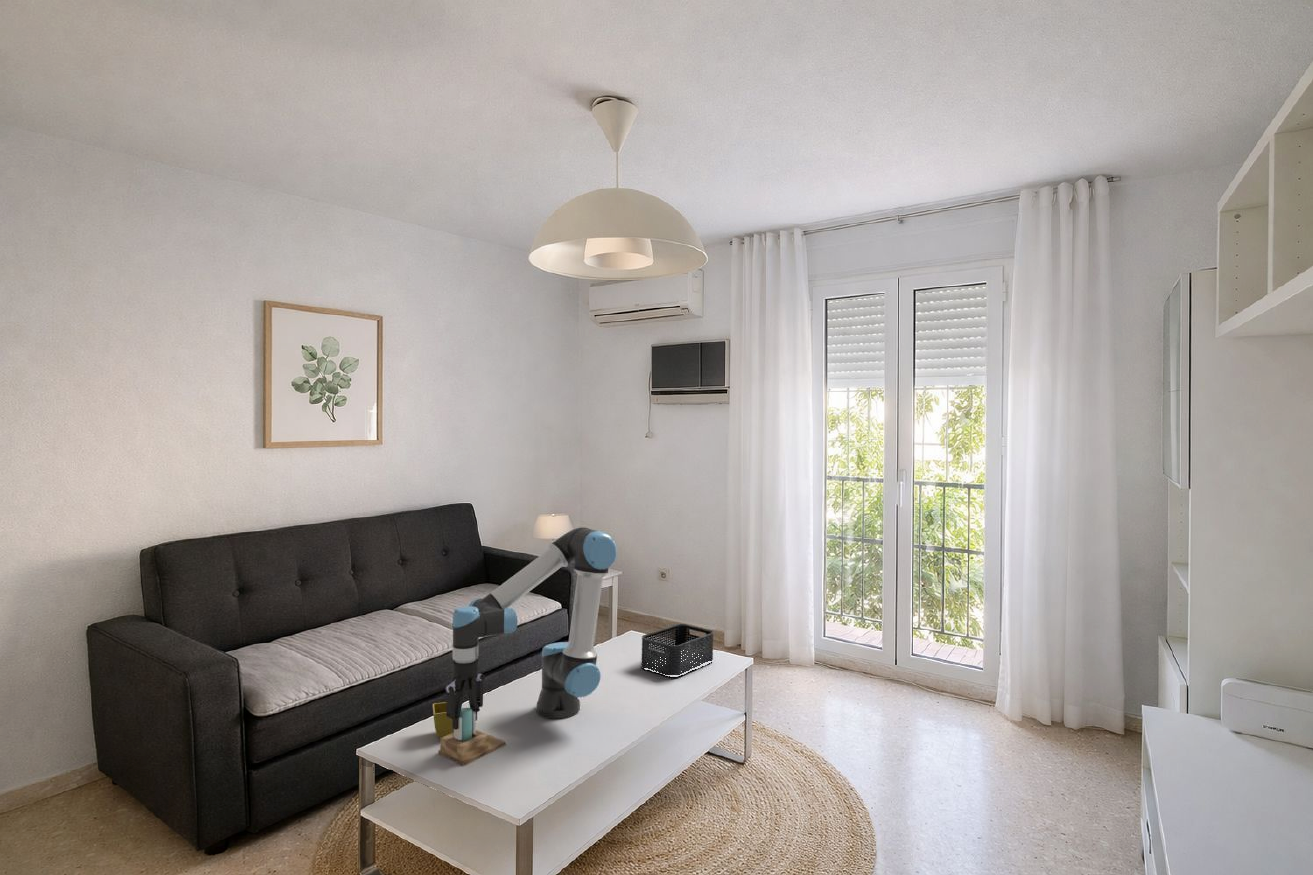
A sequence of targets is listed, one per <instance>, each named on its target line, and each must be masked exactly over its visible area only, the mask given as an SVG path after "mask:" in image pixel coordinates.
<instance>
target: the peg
mask: <svg viewBox="0 0 1313 875" xmlns="http://www.w3.org/2000/svg"><path fill="white" fill-rule="evenodd" d="M460 717H461V718H462V740H459V741H461V742H466V741H468V740H470V739H472V709H471V708H470V707H463V708H462V709H461V713H460Z"/></svg>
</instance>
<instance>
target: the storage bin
mask: <svg viewBox="0 0 1313 875" xmlns="http://www.w3.org/2000/svg"><path fill="white" fill-rule="evenodd" d="M691 630H692V631H695V632H698V633H704V634H705V635H703V636H700V635H696V634H693V633H691ZM683 650H684V651H683ZM681 651H682V652H681ZM687 651H688V652H687ZM681 653H682V654H681ZM694 653H695V654H694ZM685 654H686V655H685ZM692 654H693V655H692ZM698 654H699V655H698ZM683 655H684V656H683ZM702 655H703V656H702ZM681 656H682V657H681ZM687 656H688V657H687ZM692 656H693V657H692ZM698 656H699V657H698ZM660 657H661V658H660ZM696 657H697V658H696ZM665 658H666V659H665ZM681 658H682V659H681ZM694 658H695V659H694ZM700 658H701V659H700ZM660 659H661V660H660ZM685 659H686V660H685ZM655 660H656V661H655ZM662 660H663V661H662ZM683 660H684V661H683ZM712 660H713V661H714V631H713V630H710V629H707V628H702V627H699V626H694V625H690V624H686V623H678V624H675V625H671V626H668V627H665V628H661V629H658V630H656V631H652V632H649V633H646V634H643V635H642V636H641V664H640V665H642V667H643V668H648V669H651V670H653V671H654V670H655V671H656V672H657V671H658V672H659V673H662V674H665V675H680V674H682V673H684V672H686V671H689V670H690V669H692V668H695V667H697V666H700V665H701V664H703V663H705V662H708V661H712ZM657 661H658V662H657ZM665 661H666V662H665ZM681 661H682V662H681ZM692 661H693V662H692ZM652 662H653V663H652ZM660 662H661V663H660ZM690 662H691V663H690ZM696 662H697V663H696ZM647 663H648V664H647ZM655 663H656V664H655ZM665 663H666V664H665ZM694 663H695V664H694ZM700 663H701V664H700ZM655 665H656V666H655ZM662 665H663V666H662ZM657 666H658V667H657ZM692 666H693V667H692ZM652 667H653V668H652ZM655 668H656V669H655ZM681 671H682V672H681Z"/></svg>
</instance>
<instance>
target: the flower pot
mask: <svg viewBox="0 0 1313 875" xmlns="http://www.w3.org/2000/svg"><path fill="white" fill-rule="evenodd" d="M462 707H463V706H462ZM462 707H461V709H462ZM432 715H433V722H434V723H433V724H434V730H435V733H436V735H437V737H438V738H439V739H441V738H442V737H444V736H447V735H449V734H451V733H454V729H453V728H452V719H451V718H448V717H447V716H446V701H445V702H436V703H432Z"/></svg>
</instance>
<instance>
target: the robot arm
mask: <svg viewBox="0 0 1313 875" xmlns="http://www.w3.org/2000/svg"><path fill="white" fill-rule="evenodd" d="M617 555H618V548H617V544H616V542H615V540H614V539H613V537H611V536H610V535H608V534H607V533H606V532H603V531H599V530H595V529H592V528H588V527H582V526H581V527H577V528H574V529H571V530H569V531H567V532H566V533H564V534H563V535H561V536H560V537H559V538H557V539H555V540H554V541H553V542H551V543H550V544H549V547H548V549H547V550H546V551H545V552H543V553H541V554H540V555H539V556H538V557H536V558H535V559H534V560H533V561H530V563H529V564H527V565H526V566H524V567H523V568H522V569H521V570H519V571H518V572H516V573H515V574H514V575H513V576H511V577H509V578H508V579H507V580H506V581H504V582H503V583H502V584H501V585H499V586H498V587H496V588H495V589H494V590H492V591H491V592H489V594H487V595H486V596H484V597H483V598H481V597H480V598H479V597H477V598H475V599H473V600H472V601H470V603H469V605H468V606H466V605H465V606H460V607H458V608H456V609H455V610H454V611H453V613H452V614H453V615H452V623H451V624H452V660H453V661H451V662H452V669H451V670H452V674H453V678H452V681H451V683H449V684H446V685H445V686H444V690H445V692H446V693H445V700H446V701H445V702H446V716H447V717H448V718H451V719H452V728H453V729H454V738H455V739H458V740H462V718H461V717H460V713H461V707H463V706H462V705H463V701H464V696H465V695H466V694H467V699H468V703H469V708H471V709H472V734H475V733H476V730H477V728H476V724H477V721H478V712H480V711H481V708H482V707H483V705H484V681H485V677H486V675H485V674H483V673H480V672H478V671H479V659H478V658H479V639H481V638H488V637H492V636H493V637H494V636H500V635H506V634H510V633H514V632H515V631H516V629H517V628H518V616H517V612H516V611H515V609H514V608H512V607H511V606H512V605H513V604H516V602H518V601H519V600H520V599H521V598H523V597H524V596H526V595H527V594H528V593H529V592H530V591H533V589H534V588H536V587H538V586H539V585H540V584H541V583H542V582H544V581H545V580H546V579H548V578H549V577H550V576H552V575H554V573H556V572H557V571H558V570H559V569H560V568H562V567H565V568H567V567H568V566H570V565H571V564H573V563H574V564H573V570H574V571H575V573H576V574H577V577H576V584H575V592H574V599H573V606H572V614H571V620H570V621H571V622H570V630H569V637H568V641H565V642H564V641H561V642H554V643H553V642H552V643H549V644H546V645H545V646H543V647H542V651H541V689H540V693H539V696H538V700H537V702H536V708H535V709H536V713H537V714H538V716H541V717H542V718H547V719H565V718H569V717H572V716H575V715H577V714H578V713H579V712H580V711H581V710H580V709H581V701H580V699H579V698H585V697H588V696H590V695H591V694H592V693H593V692H595V691H596V690H597V688H598V686H599V684H600V681H601V676H602V675H601V671H600V669H599V667H598V665H597V659H598V653H597V651H596V650H595V649H594V647H595V641H596V640H595V639H596V634H597V633H596V631H597V625H598V616H599V609H600V602H601V595H602V588H603V578H604V577H606V576H607V575H608V574H609V570H610V567H611V566H612V564H614V563H615V562H616V559H617Z"/></svg>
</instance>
